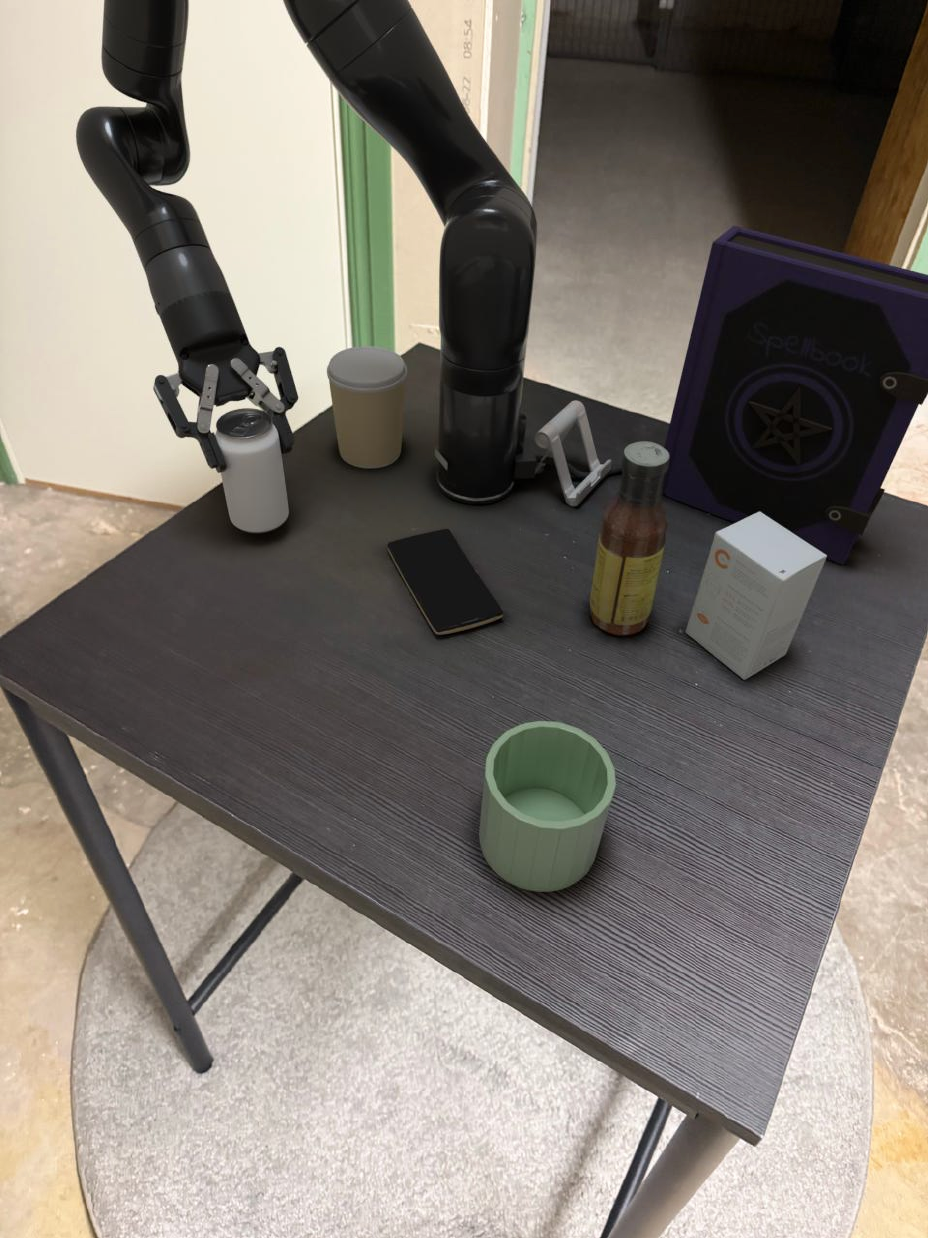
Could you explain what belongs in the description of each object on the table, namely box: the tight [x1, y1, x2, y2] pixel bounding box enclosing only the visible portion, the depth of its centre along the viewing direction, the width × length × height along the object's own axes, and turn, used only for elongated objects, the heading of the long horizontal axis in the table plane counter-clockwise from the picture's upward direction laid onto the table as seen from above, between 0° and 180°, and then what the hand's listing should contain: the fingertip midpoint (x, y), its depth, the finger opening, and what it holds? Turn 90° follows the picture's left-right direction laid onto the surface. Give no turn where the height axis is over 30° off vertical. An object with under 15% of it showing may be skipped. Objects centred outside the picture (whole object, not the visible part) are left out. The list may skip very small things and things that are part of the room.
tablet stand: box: [533, 400, 613, 507], centre depth 103 cm, size 9×8×8 cm
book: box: [662, 225, 928, 566], centre depth 92 cm, size 24×6×30 cm, turn 56°
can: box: [214, 407, 290, 534], centre depth 92 cm, size 6×6×12 cm
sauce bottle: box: [589, 440, 670, 637], centre depth 82 cm, size 7×6×20 cm
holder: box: [478, 720, 617, 893], centre depth 67 cm, size 10×10×9 cm
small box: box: [685, 512, 827, 681], centre depth 83 cm, size 8×6×13 cm
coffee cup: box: [326, 345, 408, 469], centre depth 105 cm, size 9×9×12 cm
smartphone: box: [386, 528, 504, 636], centre depth 91 cm, size 7×1×15 cm
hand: (255, 460), depth 89 cm, fingers closed on can, 6 cm apart
